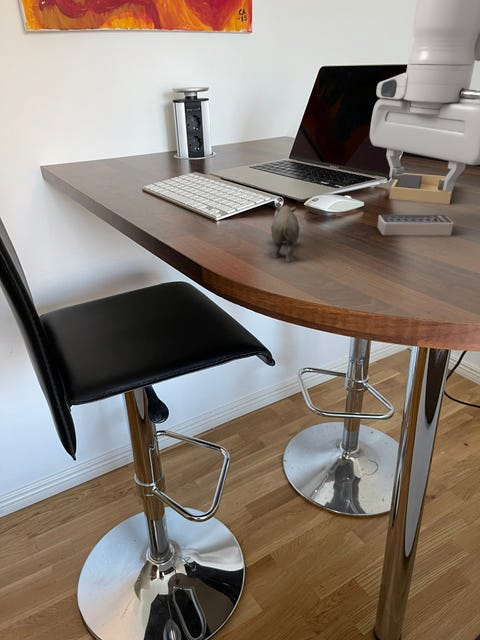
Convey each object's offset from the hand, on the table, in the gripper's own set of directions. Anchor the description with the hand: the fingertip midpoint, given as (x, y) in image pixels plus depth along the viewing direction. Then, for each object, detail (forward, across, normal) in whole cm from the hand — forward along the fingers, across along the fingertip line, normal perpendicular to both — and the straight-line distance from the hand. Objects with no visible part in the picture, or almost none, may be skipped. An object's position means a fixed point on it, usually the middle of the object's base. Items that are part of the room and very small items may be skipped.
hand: (419, 184), depth 78 cm
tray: (+8, +15, -21) cm, 27 cm away
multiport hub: (+8, 0, 0) cm, 8 cm away
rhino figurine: (+8, +6, +21) cm, 24 cm away
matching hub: (+7, +17, -19) cm, 27 cm away
